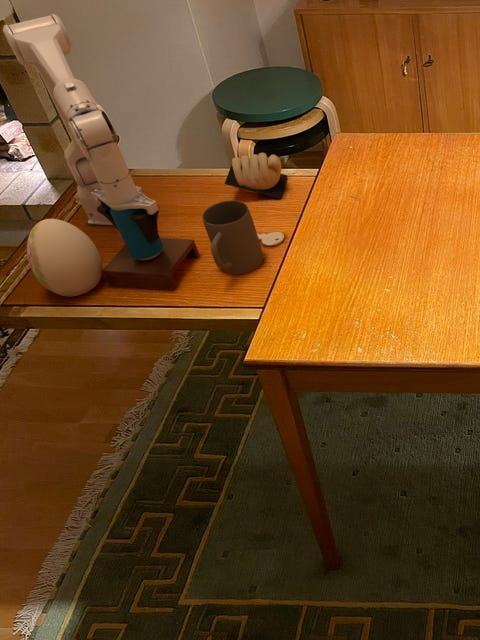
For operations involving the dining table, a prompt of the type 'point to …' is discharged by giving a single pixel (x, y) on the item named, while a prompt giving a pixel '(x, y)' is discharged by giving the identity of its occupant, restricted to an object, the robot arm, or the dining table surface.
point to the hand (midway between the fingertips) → (141, 237)
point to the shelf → (150, 266)
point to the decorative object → (257, 175)
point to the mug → (233, 237)
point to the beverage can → (135, 235)
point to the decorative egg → (63, 258)
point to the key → (271, 238)
